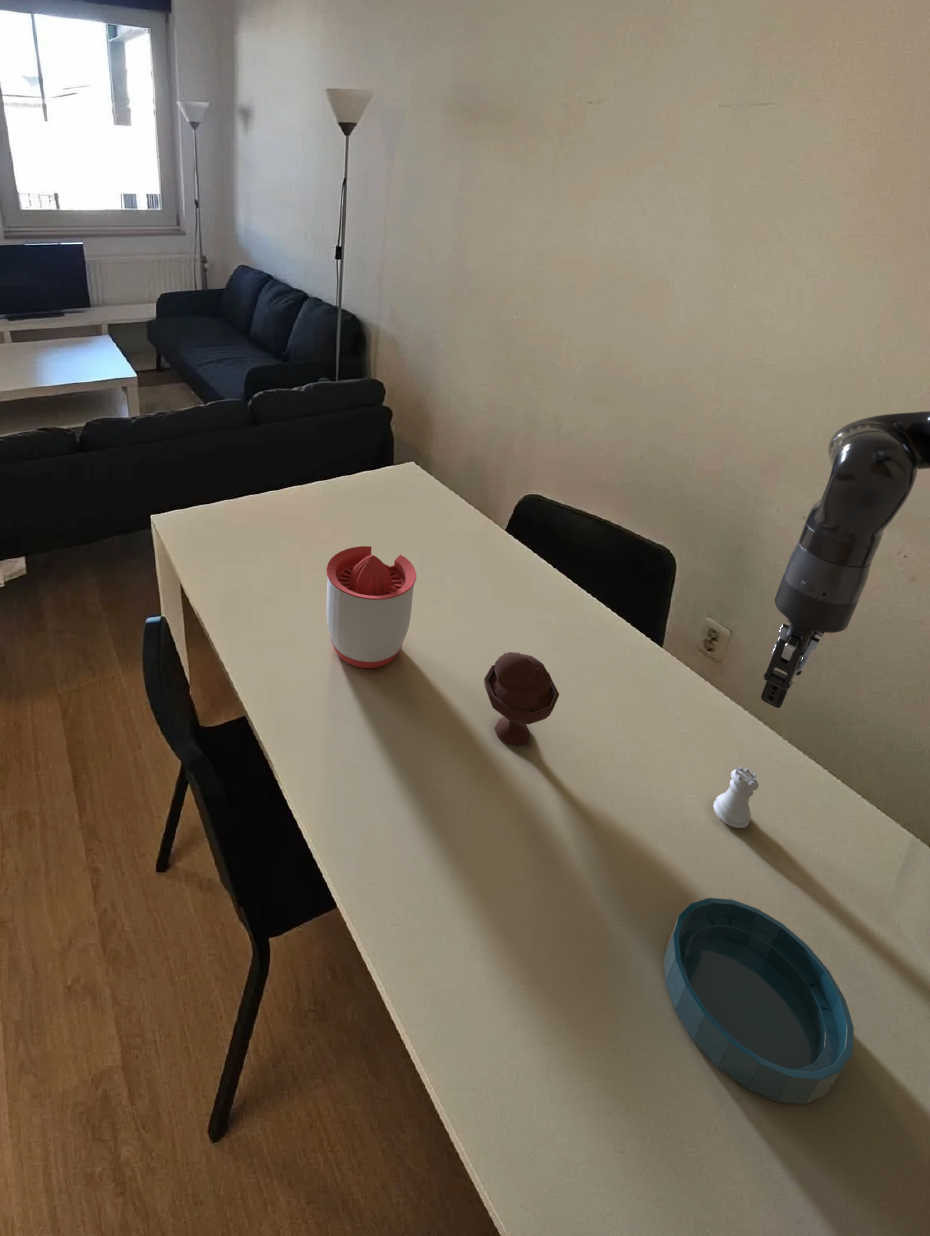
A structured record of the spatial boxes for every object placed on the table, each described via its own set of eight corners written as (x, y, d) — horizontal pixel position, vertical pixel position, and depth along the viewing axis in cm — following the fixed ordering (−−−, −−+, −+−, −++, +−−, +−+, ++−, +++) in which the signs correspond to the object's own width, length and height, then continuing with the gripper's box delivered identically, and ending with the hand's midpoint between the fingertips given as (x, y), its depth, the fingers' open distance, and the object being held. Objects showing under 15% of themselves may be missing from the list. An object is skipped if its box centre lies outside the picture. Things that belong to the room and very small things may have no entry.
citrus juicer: (422, 629, 125) (432, 540, 117) (391, 690, 110) (400, 593, 102) (347, 605, 131) (352, 519, 123) (308, 660, 116) (311, 566, 108)
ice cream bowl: (521, 774, 96) (538, 697, 90) (463, 726, 104) (474, 652, 98) (562, 738, 102) (579, 663, 96) (503, 695, 110) (517, 624, 104)
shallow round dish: (778, 930, 77) (791, 903, 75) (875, 1113, 63) (894, 1086, 61) (640, 919, 78) (650, 892, 76) (704, 1098, 63) (718, 1071, 61)
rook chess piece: (719, 795, 94) (735, 755, 91) (753, 817, 91) (770, 777, 88) (706, 813, 91) (722, 772, 88) (741, 836, 88) (758, 795, 85)
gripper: (844, 623, 71) (798, 733, 77) (873, 574, 80) (829, 676, 86) (767, 591, 76) (729, 697, 82) (802, 548, 85) (766, 646, 91)
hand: (780, 686), depth 84 cm, fingers open, 8 cm apart
